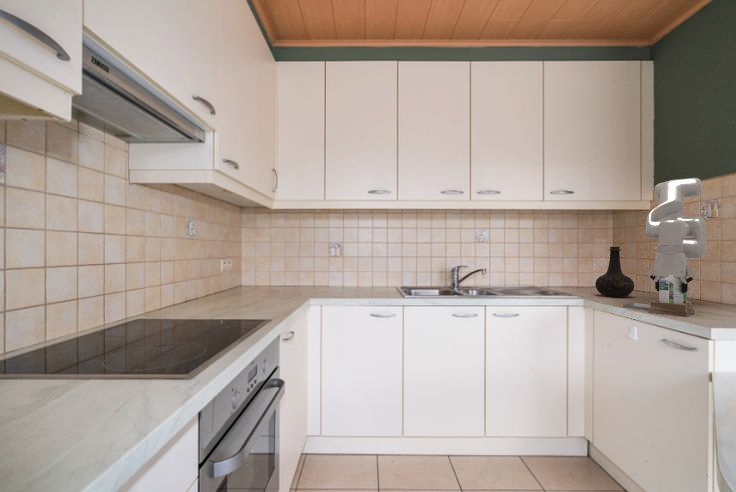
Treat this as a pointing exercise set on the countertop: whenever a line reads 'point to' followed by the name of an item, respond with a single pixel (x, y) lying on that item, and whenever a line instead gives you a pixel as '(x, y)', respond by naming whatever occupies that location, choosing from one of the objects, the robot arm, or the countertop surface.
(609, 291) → the glass bottle
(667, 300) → the syrup box
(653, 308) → the socket
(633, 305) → the plate
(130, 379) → the countertop surface
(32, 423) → the countertop surface
